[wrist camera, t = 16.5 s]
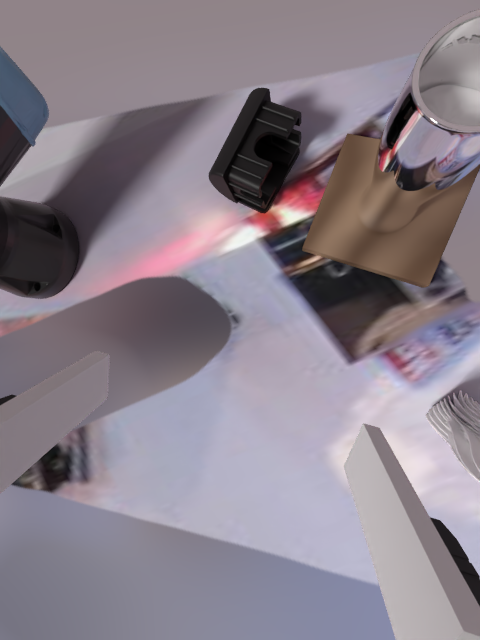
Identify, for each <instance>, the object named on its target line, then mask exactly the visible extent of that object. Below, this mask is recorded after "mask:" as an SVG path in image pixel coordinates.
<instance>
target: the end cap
mask: <svg viewBox="0 0 480 640" xmlns="http://www.w3.org/2000/svg"><path fill="white" fill-rule="evenodd" d="M300 124H301V112H298V111H296V110H293V109H290V108H287V107H284V106H281V105H278V104H275V103H272V102H271V99H270V91H269V89H267V88H257V89H255V90H253V91H252V92H251V94H250V95H249V97H248V99H247V101H246V103H245V105H244V106H243V108H242V110H241V112H240V114H239V116H238V118H237V120H236V122H235V124H234V126H233V128H232V130H231V132H230V134H229V136H228V137H227V139H226V141H225V143H224V145H223V147H222V149H221V151H220V153H219V155H218V157H217V159H216V161H215V163H214V165H213V166H212V168H211V170H210V172H209V180H210V181H211V183H212V184H213V186H214V187H215V188H216V189H217V190H218V191H219V192H220V193H221V194H223V195H224V196H225V197H227V198H228V199H230V200H231V201H233V202H235V203H238V202H239V203H241V204H243V205H245V206H248V207H250V208H252V209H254V210H256V211H258V212H260V213H266V212H267V211H268V209H269V208H270V206H271V204H272V202H273V200H274V199H275V197H276V195H277V193H278V191H279V189H280V188H281V186H282V184H283V182H284V180H285V179H286V177H287V175H288V173H289V171H290V169H291V168H292V166H293V164H294V162H295V160H296V159H297V157H298V155H299V146H300V143H301V132H300V131H297V130H294V129H293V127H294V125H297V126H300Z"/></svg>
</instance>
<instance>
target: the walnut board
mask: <svg viewBox="0 0 480 640" xmlns="http://www.w3.org/2000/svg"><path fill="white" fill-rule="evenodd" d="M379 142H380V139H374V138H369V137H363V136H358V135H352V134H347V136H346V139H345V141H344V144H343V146H342V149H341V151H340V154H339V156H338V159H337V161H336V164H335V166H334V169H333V172H332V174H331V177H330V179H329V182H328V184H327V187H326V189H325V192H324V194H323V197H322V199H321V202H320V205H319V207H318V210H317V212H316V215H315V217H314V220H313V222H312V225H311V227H310V230H309V232H308V235H307V238H306V240H305V243H304V245H303V249H302V251H305V252H308V253H312V254H315V255H318V256H321V257H325V258H328V259H331V260H335V261H338V262H341V263H344V264H348V265H351V266H354V267H357V268H361V269H364V270H367V271H370V272H374V273H377V274H380V275H383V276H387V277H390V278H393V279H396V280H400V281H403V282H406V283H410V284H413V285H416V286H419V287H423V288H424V287H427V286H429V284H430V282H431V280H432V277H433V275H434V273H435V270H436V268H437V266H438V264H439V261H440V259H441V257H442V254H443V252H444V250H445V247H446V245H447V243H448V240H449V238H450V236H451V233H452V231H453V229H454V227H455V224H456V222H457V220H458V217H459V215H460V213H461V210H462V208H463V206H464V203H465V201H466V199H467V196H468V194H469V192H470V190H471V187H472V185H473V183H474V180H475V178H476V176H477V173H478V171H479V169H480V164H479V165H478V166H477V167H476V168H475V169H473V170H472V171H471V172H470V173H469V174H468V175H466V176H465V177H464V178H462V179H461V180H459V181H458V182H457V183H455V184H454V185H452V186H451V187H449V188H448V189H446V190H445V191H443V192H441V193H440V194H438V195H437V196H435V197H433V198H431V199H430V200H428V201H426V202H425V203H423V204H422V205H421V206H420V207H419V209H418V211H417V213H416V215H415V216H414V218H413V219H412V220H411V221H410V222H409V223H408V224H407V225H406V226H404V227H403V228H401V229H399V230H397V231H394V232H390V233H378V232H374V231H371V230H369V229H368V228H366V227H365V226H364V225H363V224H362V223H361V222H360V220H359V218H358V215H357V203H358V200H359V197H360V195H361V194H362V192H363V191H364V189H365V188H366V187H367V186H368V185H369V184H370V183H371V181H372V177H373V170H374V164H375V159H376V154H377V150H378V146H379Z"/></svg>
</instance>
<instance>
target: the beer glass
mask: <svg viewBox="0 0 480 640" xmlns="http://www.w3.org/2000/svg"><path fill="white" fill-rule="evenodd" d="M479 164H480V9H478V10H475V11H472V12H470V13H467V14H465V15H463V16H461V17H459V18H457V19H456V20H454V21H452V22H450V23H449V24H448V25H446V26H445V27H444V28H442V29H441V30H440V31H439V32H438V33H437V34H435V36H434V37H432V39H431V40H430V41H429V42H428V43H427V44H426V46H425V47H424V49H423V50H422V52H421V53H420V55H419V57H418V59H417V61H416V64H415V66H414V68H413V70H412V72H411V74H410V76H409V78H408V80H407V81H406V83H405V85H404V87H403V89H402V91H401V93H400V95H399V97H398V99H397V101H396V103H395V105H394V107H393V109H392V111H391V113H390V116H389V118H388V120H387V122H386V125H385V128H384V130H383V133H382V136H381V138H380V142H379V146H378V150H377V154H376V159H375V164H374V170H373V177H372V181H371V183H370V184H369V185H368V186H367V187H366V188H365V189H364V191H363V192H362V194H361V195H360V197H359V200H358V203H357V215H358V218H359V220H360V222H361V223H362V224H363V225H364V226H365V227H366V228H368V229H369V230H371V231H374V232H378V233H390V232H394V231H397V230H399V229H401V228H403V227H404V226H406V225H407V224H408V223H409V222H410V221H411V220H412V219H413V218H414V216H415V215H416V213H417V211H418V209H419V207H420V206H421V205H422V204H423V203H425V202H426V201H428V200H430V199H431V198H433V197H435V196H437V195H438V194H440V193H441V192H443V191H445V190H446V189H448V188H449V187H451V186H452V185H454V184H455V183H457V182H458V181H459V180H461V179H462V178H464V177H465V176H466V175H468V174H469V173H470V172H471V171H472V170H473V169H475V168H476V167H477V166H478V165H479Z"/></svg>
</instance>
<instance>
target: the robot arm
mask: <svg viewBox="0 0 480 640" xmlns="http://www.w3.org/2000/svg"><path fill="white" fill-rule="evenodd" d="M48 117H49V110H48V106H47V103H46V101H45V99H44V97H43V96H42V94H41V93H40V92H39V90H38V89H37V88H36V87H35V85H34V84H33V83H32V82H31V81H30V80H29V79H28V77H27V76H26V75H25V74H24V73H23V72H22V70H21V69H20V68H19V67H18V66H17V65H16V63H15V62H14V61H13V60H12V59H11V58H10V57H9V56H8V55H7V53H6V52H5V51H4V50H3V49H2V48H1V47H0V186H1V185H2V184H3V182H4V181H5V180H6V178H7V177H8V176H9V174H10V173H11V172H12V170H13V169H14V168H15V167H16V165H17V164H18V163H19V161H20V160H21V159H22V157H23V156H24V155H25V153H26V152H27V151H28V150H29V148H30V147H31V146H33V147H34V145H35V139H36V138H37V136H38V134H39V133H40V131H41V130H42V128H43V127H44V125H45V124H46V122H47V120H48ZM78 254H79V243H78V237H77V233H76V230H75V228H74V226H73V224H72V223H71V221H70V220H69V219H68V217H66V216H65V215H64V214H63V213H61V212H60V211H58V210H55V209H53V208H51V207H49V206H47V205H44V204H41V203H37V202H31V201H25V200H18V199H12V198H6V197H0V289H2V290H5V291H7V292H10V293H12V294H15V295H17V296H21V297H27V298H36V299H44V298H48V297H51V296H53V295H55V294H57V293H58V292H60V291H61V290H62V289H63V288H64V287H65V286H66V285H67V283H68V282H69V281H70V279H71V277H72V275H73V273H74V271H75V268H76V265H77V261H78ZM108 378H109V354H106V353H102V352H99V351H95V352H93V353H91V354H89V355H88V356H86V357H84V358H82V359H81V360H79V361H77V362H75V363H74V364H72V365H70V366H68V367H67V368H65V369H63V370H62V371H60V372H58V373H56V374H55V375H53V376H51V377H49V378H47V379H46V380H44V381H42V382H40V383H39V384H37V385H35V386H34V387H32V388H30V389H28V390H27V391H25V392H23V393H21V394H19V395H18V396H15V395H10V396H7V397H4V398H1V399H0V494H1V492H3V491H4V490H5V489H6V488H7V487H8V486H10V485H11V484H12V483H13V482H14V481H15V480H16V479H17V478H19V477H20V476H21V475H22V474H23V473H24V472H25V471H26V470H28V469H29V468H30V467H31V466H32V465H33V464H34V463H35V462H37V461H38V460H39V459H40V458H41V457H42V456H43V455H44V454H46V453H47V452H48V451H49V450H50V449H51V448H52V447H53V446H55V445H56V444H57V443H58V442H59V441H60V440H61V439H62V438H63V437H65V436H66V435H67V434H68V433H69V432H70V431H71V430H72V429H74V428H75V427H76V426H77V425H78V424H79V423H80V422H81V421H83V420H84V419H85V418H86V417H87V416H88V415H89V414H90V413H92V412H93V411H94V410H95V409H96V408H97V407H98V406H99V405H100V404H102V403H103V402H104V401H105V400H106V399H107V398H108ZM344 469H345V472H346V475H347V479H348V482H349V485H350V489H351V492H352V495H353V499H354V502H355V505H356V509H357V512H358V515H359V519H360V522H361V525H362V529H363V532H364V535H365V539H366V542H367V545H368V548H369V552H370V555H371V558H372V562H373V565H374V568H375V572H376V575H377V578H378V582H379V585H380V588H381V592H382V595H383V598H384V602H385V605H386V608H387V611H388V615H389V618H390V621H391V625H392V628H393V632H394V635H395V638H396V640H480V579H479V575H478V573H477V572H476V570H475V568H474V567H473V565H472V564H471V563H469V559H468V557H467V555H466V554H465V552H464V550H463V549H462V547H461V546H460V544H459V542H458V541H457V539H456V538H455V537H454V536H453V534H452V533H451V532H450V531H449V530H448V529H447V528H446V526H445V525H444V524H443V523H442V522H441V521H440V520H437V519H434V518H430V517H429V515H428V514H427V512H426V510H425V508H424V506H423V505H422V503H421V501H420V499H419V498H418V496H417V494H416V492H415V490H414V489H413V487H412V485H411V483H410V481H409V480H408V478H407V476H406V474H405V473H404V471H403V469H402V467H401V465H400V464H399V462H398V460H397V458H396V457H395V455H394V453H393V451H392V449H391V448H390V446H389V444H388V442H387V441H386V439H385V437H384V435H383V433H382V432H381V430H380V428H378V427H374V426H371V425H367V424H363V425H362V427H361V430H360V432H359V434H358V436H357V438H356V440H355V443H354V445H353V447H352V449H351V451H350V454H349V456H348V458H347V460H346V462H345V464H344Z"/></svg>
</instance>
